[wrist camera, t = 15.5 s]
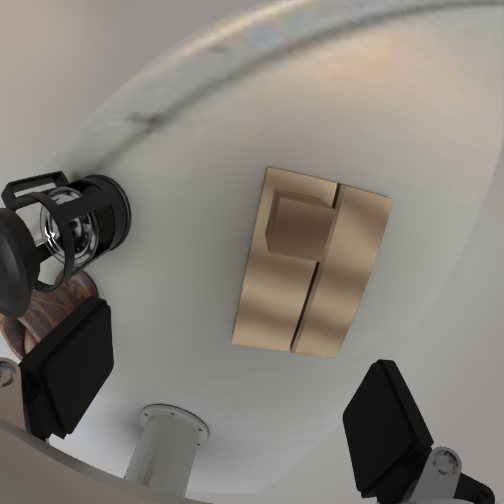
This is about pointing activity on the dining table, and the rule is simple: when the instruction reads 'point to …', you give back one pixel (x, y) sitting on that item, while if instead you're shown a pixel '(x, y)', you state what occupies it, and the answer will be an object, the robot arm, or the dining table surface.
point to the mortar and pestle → (46, 312)
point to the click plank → (275, 271)
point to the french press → (54, 233)
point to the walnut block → (298, 225)
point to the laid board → (341, 271)
